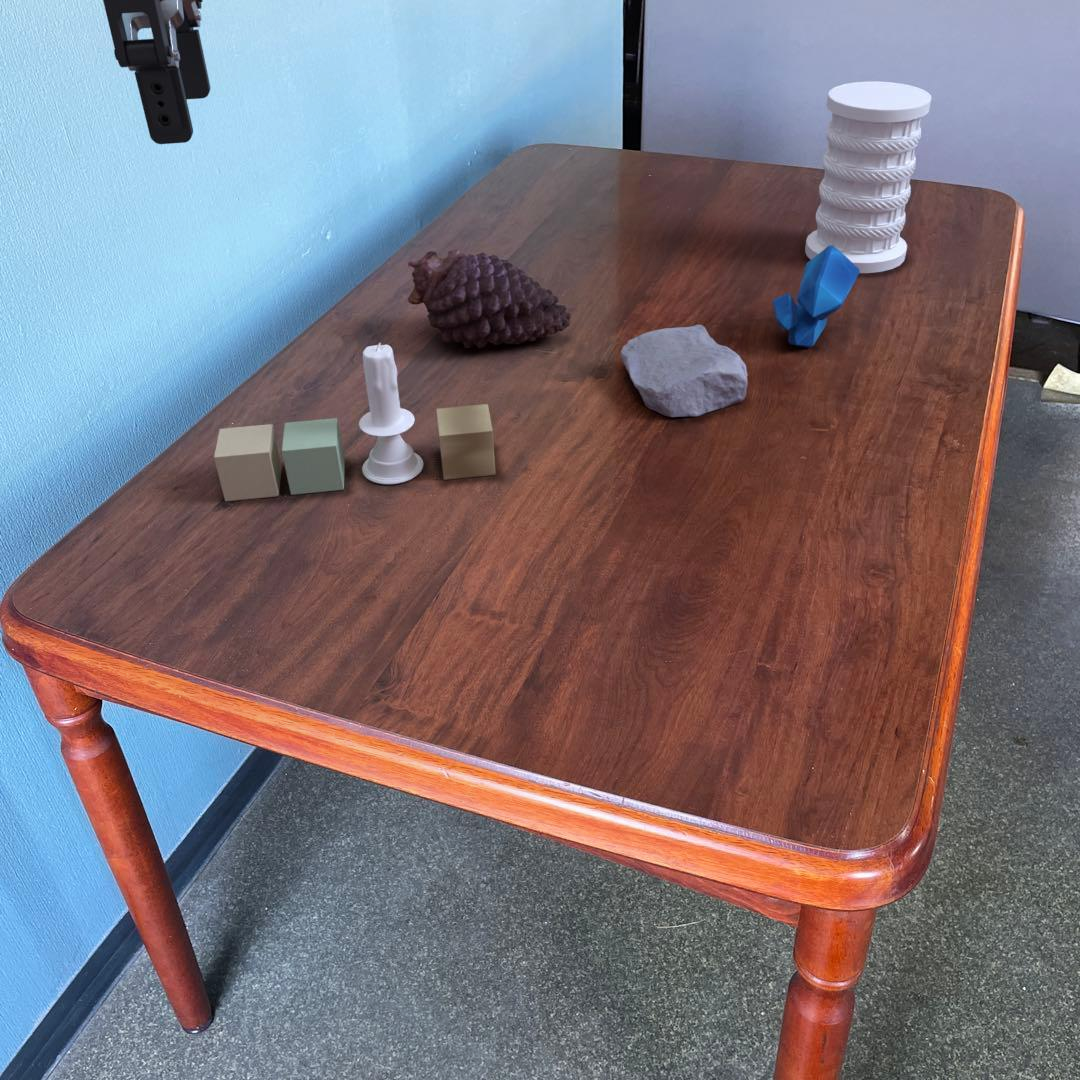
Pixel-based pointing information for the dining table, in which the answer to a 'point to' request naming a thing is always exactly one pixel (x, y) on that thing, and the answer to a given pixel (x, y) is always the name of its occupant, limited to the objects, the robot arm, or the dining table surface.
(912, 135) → the decorative container
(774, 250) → the dining table surface
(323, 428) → the block
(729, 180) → the dining table surface
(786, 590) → the dining table surface
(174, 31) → the robot arm
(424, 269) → the pine cone
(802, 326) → the crystal
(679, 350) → the stone block
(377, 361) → the candle
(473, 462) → the block
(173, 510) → the dining table surface
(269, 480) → the block
